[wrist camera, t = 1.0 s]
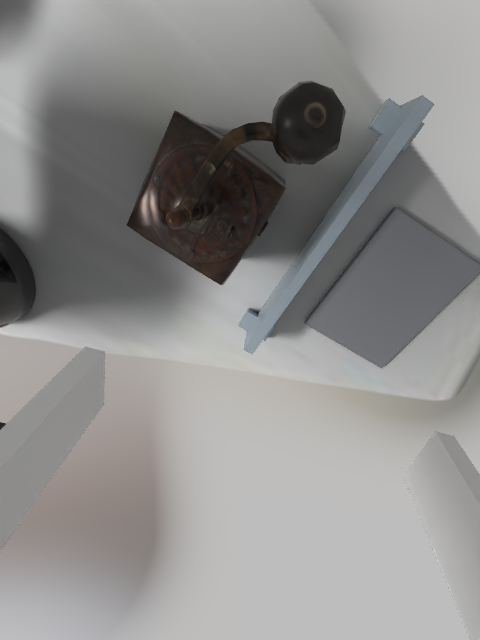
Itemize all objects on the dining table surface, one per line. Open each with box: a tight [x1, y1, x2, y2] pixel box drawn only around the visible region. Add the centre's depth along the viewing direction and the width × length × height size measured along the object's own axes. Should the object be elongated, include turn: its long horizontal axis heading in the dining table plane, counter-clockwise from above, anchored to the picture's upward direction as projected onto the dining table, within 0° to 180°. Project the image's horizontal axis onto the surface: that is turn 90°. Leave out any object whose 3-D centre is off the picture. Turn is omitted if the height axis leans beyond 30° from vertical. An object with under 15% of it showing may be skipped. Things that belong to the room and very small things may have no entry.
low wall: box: [239, 95, 434, 354], centre depth 33 cm, size 4×28×5 cm, turn 150°
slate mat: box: [305, 207, 480, 368], centre depth 37 cm, size 12×16×1 cm
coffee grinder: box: [127, 81, 345, 285], centre depth 25 cm, size 16×11×18 cm
